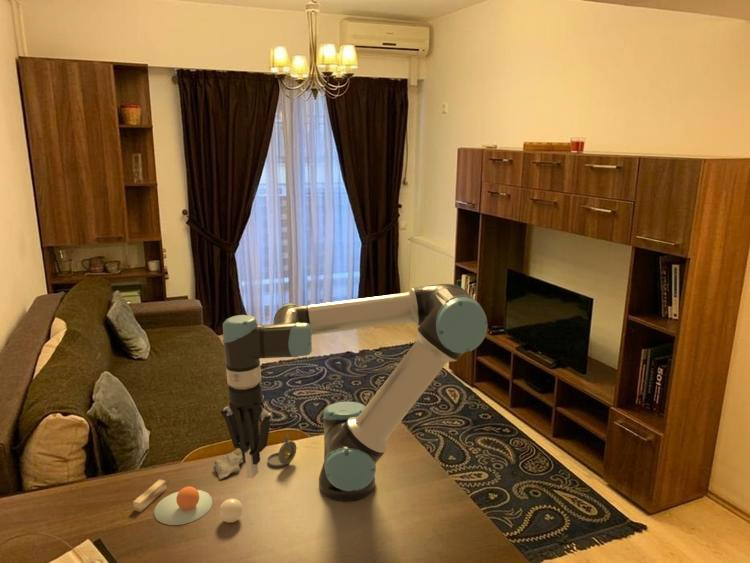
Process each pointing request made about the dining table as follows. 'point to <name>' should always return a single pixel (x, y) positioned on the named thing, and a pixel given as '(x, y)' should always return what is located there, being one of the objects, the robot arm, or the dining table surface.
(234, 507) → the cue ball
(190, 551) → the dining table surface
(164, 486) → the birch rail
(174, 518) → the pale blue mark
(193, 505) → the object ball
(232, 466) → the mineral specimen
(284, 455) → the pocket watch
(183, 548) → the dining table surface
